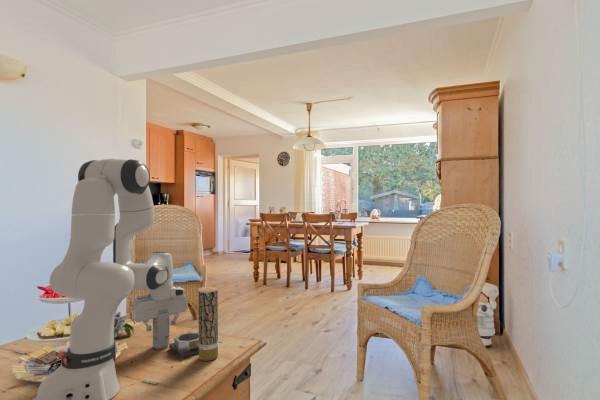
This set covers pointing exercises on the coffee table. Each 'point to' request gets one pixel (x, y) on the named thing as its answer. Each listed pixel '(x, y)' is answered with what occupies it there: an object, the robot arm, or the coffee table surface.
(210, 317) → the bark patterned cylinder
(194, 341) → the can mount
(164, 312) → the energy drink can
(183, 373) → the coffee table surface
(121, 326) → the passion flower
